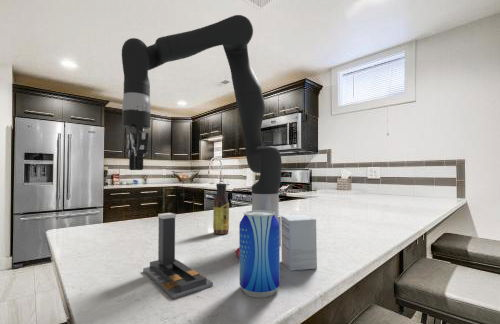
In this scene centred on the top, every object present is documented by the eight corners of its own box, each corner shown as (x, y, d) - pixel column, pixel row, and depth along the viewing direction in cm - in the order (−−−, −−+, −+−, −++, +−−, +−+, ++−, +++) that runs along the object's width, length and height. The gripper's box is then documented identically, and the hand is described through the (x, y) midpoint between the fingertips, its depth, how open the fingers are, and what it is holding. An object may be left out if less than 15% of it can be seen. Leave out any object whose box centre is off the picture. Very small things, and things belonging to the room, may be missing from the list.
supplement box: (306, 259, 72) (305, 214, 73) (317, 269, 65) (317, 218, 65) (280, 261, 71) (280, 215, 71) (289, 271, 64) (289, 219, 64)
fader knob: (157, 266, 65) (157, 213, 65) (169, 263, 67) (169, 212, 67) (163, 270, 61) (163, 215, 62) (175, 267, 63) (176, 214, 64)
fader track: (143, 271, 64) (143, 262, 64) (177, 263, 70) (177, 255, 70) (172, 299, 50) (173, 288, 50) (212, 285, 56) (212, 275, 56)
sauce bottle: (226, 235, 99) (226, 183, 100) (210, 234, 101) (211, 183, 101) (230, 231, 106) (230, 183, 107) (216, 230, 107) (216, 183, 108)
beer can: (238, 281, 58) (238, 210, 58) (275, 280, 58) (275, 209, 59) (240, 300, 49) (240, 216, 50) (283, 298, 50) (283, 215, 51)
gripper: (116, 113, 78) (115, 170, 77) (129, 104, 67) (128, 169, 66) (142, 117, 83) (141, 170, 82) (158, 108, 72) (157, 169, 71)
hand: (136, 169), depth 74 cm, fingers open, 4 cm apart
